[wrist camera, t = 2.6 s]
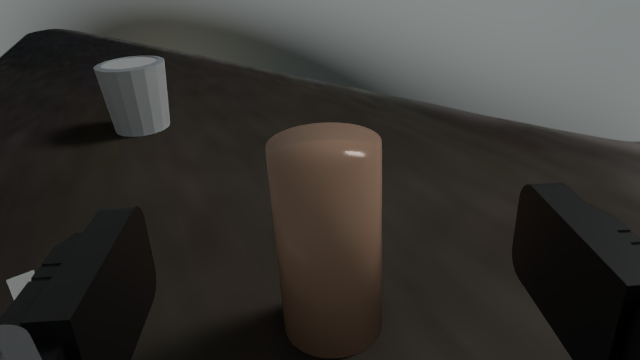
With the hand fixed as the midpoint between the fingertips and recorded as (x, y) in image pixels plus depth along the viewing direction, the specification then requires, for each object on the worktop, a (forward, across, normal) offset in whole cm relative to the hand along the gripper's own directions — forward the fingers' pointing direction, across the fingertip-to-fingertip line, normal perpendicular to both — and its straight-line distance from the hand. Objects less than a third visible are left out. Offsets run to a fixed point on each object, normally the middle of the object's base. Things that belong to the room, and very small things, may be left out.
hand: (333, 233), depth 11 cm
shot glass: (+44, +18, +12) cm, 49 cm away
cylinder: (+12, 0, +12) cm, 17 cm away
